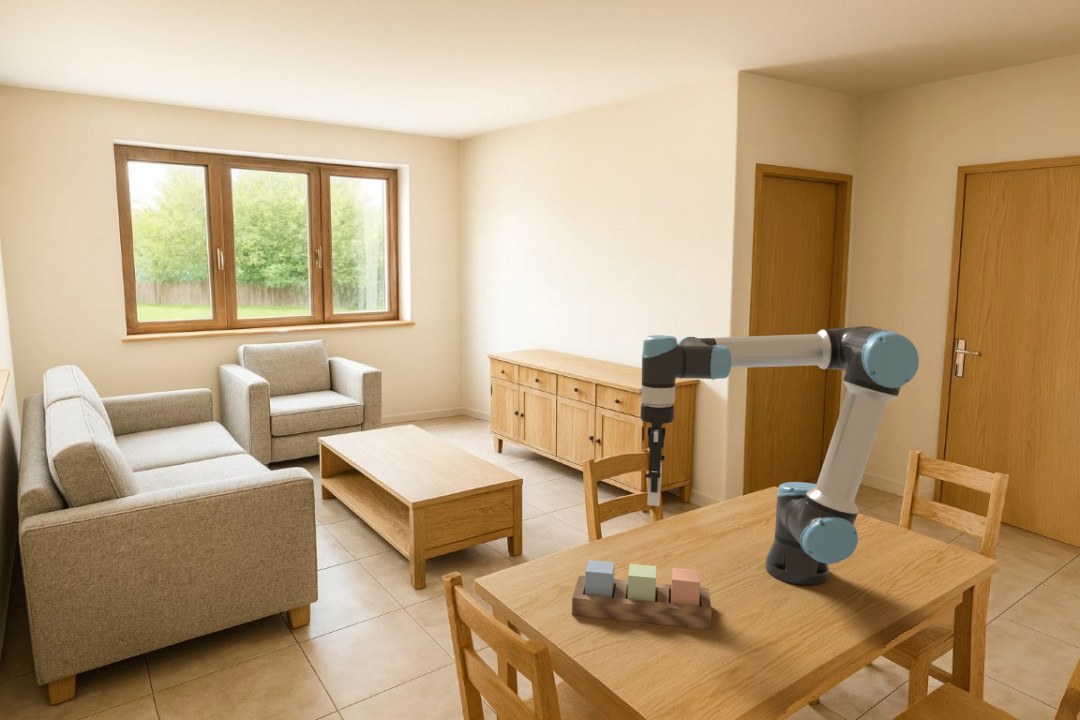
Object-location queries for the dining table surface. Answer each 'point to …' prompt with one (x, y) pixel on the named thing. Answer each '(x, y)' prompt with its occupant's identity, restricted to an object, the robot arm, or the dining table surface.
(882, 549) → the dining table surface
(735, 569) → the dining table surface
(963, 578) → the dining table surface
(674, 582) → the salmon pink cube
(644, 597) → the pastel lime cube
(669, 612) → the wooden cube holder tray
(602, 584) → the pale blue-grey cube
